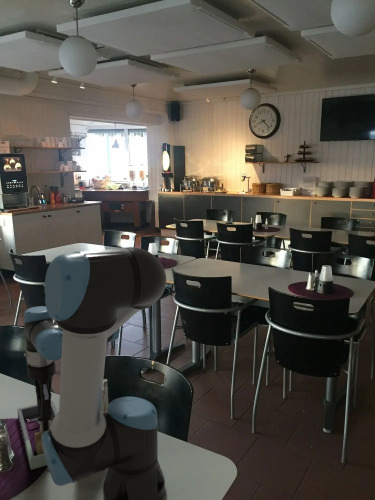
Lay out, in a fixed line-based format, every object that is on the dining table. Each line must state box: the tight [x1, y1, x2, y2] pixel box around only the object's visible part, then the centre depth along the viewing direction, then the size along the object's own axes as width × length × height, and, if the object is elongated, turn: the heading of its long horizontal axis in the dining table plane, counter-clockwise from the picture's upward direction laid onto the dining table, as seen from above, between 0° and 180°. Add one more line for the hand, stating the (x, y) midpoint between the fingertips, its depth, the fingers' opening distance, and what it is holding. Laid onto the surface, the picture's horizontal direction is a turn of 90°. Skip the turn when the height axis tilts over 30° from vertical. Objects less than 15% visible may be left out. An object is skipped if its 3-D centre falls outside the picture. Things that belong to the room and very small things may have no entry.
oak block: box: [34, 428, 51, 455], centre depth 120 cm, size 6×6×5 cm
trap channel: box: [17, 400, 59, 471], centre depth 127 cm, size 28×11×3 cm, turn 28°
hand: (45, 438), depth 123 cm, fingers closed
